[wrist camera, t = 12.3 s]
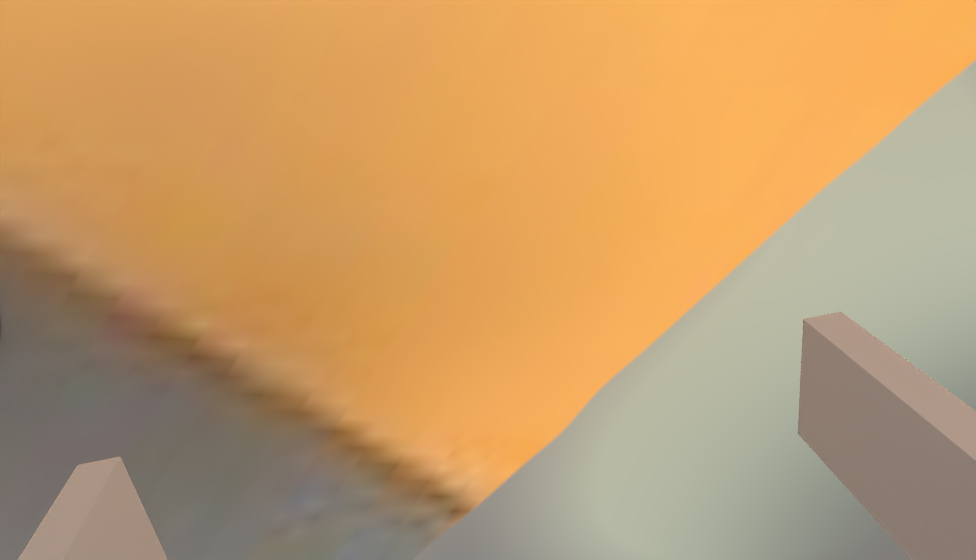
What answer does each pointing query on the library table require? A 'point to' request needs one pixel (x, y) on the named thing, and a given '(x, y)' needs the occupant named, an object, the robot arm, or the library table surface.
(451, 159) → the library table surface
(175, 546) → the library table surface
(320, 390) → the library table surface
